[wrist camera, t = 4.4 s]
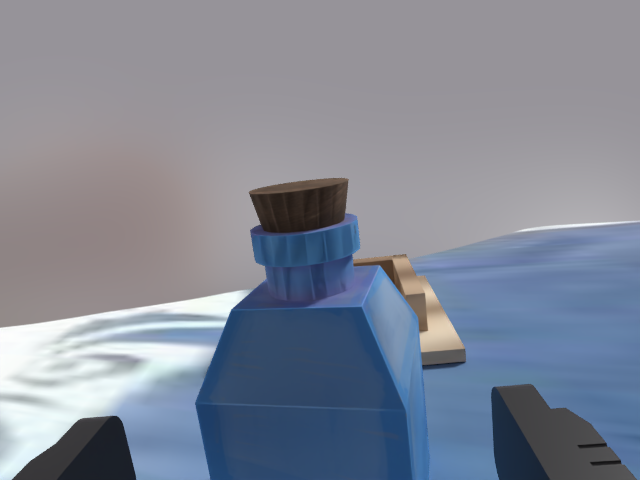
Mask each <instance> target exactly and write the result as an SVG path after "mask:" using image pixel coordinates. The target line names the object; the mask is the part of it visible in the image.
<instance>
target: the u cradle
mask: <svg viewBox="0 0 640 480" xmlns="http://www.w3.org/2000/svg"><path fill="white" fill-rule="evenodd" d="M353 265H354V266H375V265H380V266H381V268H382V269H383V270H384V272H385V273H386V274H387V276H388V277H389V278H390V280H391V281H392V282H393V284H394V285H395V287H396V288H397V289H398V291H399V292H400V293H401V295H402V296H403V297H404V299H405V300H406V302H407V303H408V304H409V306H410V307H411V308H412V310H413V311H414V312H415V314H416V315H417V317H418V323H419V335H420V347H421V359H422V365H430V364H442V363H454V362H466V354H465V347H464V346H463V344H462V342H461V340H460V338H459V337H458V335H457V333H456V331H455V329H454V328H453V326H452V324H451V322H450V320H449V319H448V317H447V315H446V313H445V311H444V310H443V308H442V306H441V304H440V302H439V301H438V299H437V297H436V295H435V294H434V292H433V290H432V288H431V286H430V285H429V283H428V281H427V279H426V277H425V276H416V274H415V272H414V270H413V268H412V266H411V264H410V262H409V260H408V258H407V256H406V254H403V255H393V256H385V257H374V258H365V259H356V260H353Z"/></svg>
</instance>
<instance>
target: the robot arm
mask: <svg viewBox="0 0 640 480" xmlns="http://www.w3.org/2000/svg"><path fill="white" fill-rule="evenodd" d="M491 401H492V421H493V441H494V457H495V464H496V469H497V473H498V477H499V480H637V479H636V478H635V477H634V476H633V474H632V473H631V472H630V471H629V470H628V468H627V467H626V466H625V465H622V464H621V460H620V459H619V458H618V456H617V455H616V454H615V453H614V452H613V450H612V449H611V448H610V447H607V444H606V442H605V441H604V440H603V438H602V437H601V436H600V435H599V434H598V432H597V431H596V430H595V429H594V428H593V426H592V425H591V424H590V423H589V422H587V421H585V420H584V419H582V418H581V417H579V416H577V415H576V414H574V413H573V412H571V411H570V410H568V409H566V408H556V409H550V407H549V406H548V405H547V403H546V402H545V401H544V399H543V398H542V397H541V395H540V394H539V392H538V391H537V390H536V388H535V387H534V386H533V385H531V384H525V385H512V386H500V387H493V388H492V393H491ZM12 480H136V475H135V471H134V467H133V463H132V459H131V454H130V450H129V446H128V442H127V438H126V434H125V430H124V426H123V423H122V421H121V420H120V418H119V417H117V416H106V417H93V418H82V419H80V420H78V421H77V422H76V423H75V424H74V425H73V426H72V427H71V428H70V429H69V430H68V431H67V432H66V433H65V434H64V435H63V437H62V438H61V439H60V440H59V441H58V442H57V443H56V444H55V445H53V446H52V447H50V448H49V449H47V450H46V451H44V452H43V453H41V454H40V455H39V456H37V457H36V458H34V459H33V460H31V461H30V462H29V463H28V464H27V465H26V466H25V467H24V468H23V469H22V470H21V471H20V472H19V473H18V474H17V475H16V476H15V477H14V478H13V479H12Z"/></svg>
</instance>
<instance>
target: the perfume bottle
mask: <svg viewBox="0 0 640 480" xmlns="http://www.w3.org/2000/svg"><path fill="white" fill-rule="evenodd" d="M347 188H348V179H345V178H329V179H317V180H306V181H298V182H291V183H284V184H278V185H272V186H267V187H263V188H258V189H255V190H252V191H250V192H249V194H250V197H251V199H252V202H253V205H254V207H255V210H256V212H257V215H258V218H259V220H260V223H261V225H258V226H256V227H254V228H253V229H251V230H250V232H251V238H252V245H253V251H254V257H255V261H256V263H259V264H261V265H263V266H265V270H266V276H267V279H266V280H265V281H263V282H262V283H261V284H260V285H259V286H258V287H257V288H255V289H254V290H253V291H252V292H251V293H250V294H249V295H247V296H246V297H245V298H244V299H243V300H242V301H241V302H239V303H238V304H237V305H236V306H235V307H234V308H233V309H231V312H230V314H229V317H228V320H227V322H226V325H225V327H224V330H223V332H222V335H221V338H220V340H219V343H218V345H217V348H216V351H215V353H214V356H213V358H212V361H211V363H210V366H209V369H208V371H207V374H206V376H205V379H204V382H203V384H202V387H201V389H200V392H199V395H198V397H197V400H196V402H195V405H196V410H197V414H198V419H199V424H200V429H201V434H202V439H203V444H204V449H205V454H206V459H207V464H208V469H209V474H210V479H211V480H429V459H430V455H429V443H428V431H427V419H426V407H425V395H424V383H423V371H422V359H421V347H420V335H419V323H418V317H417V315H416V314H415V312H414V311H413V310H412V308H411V307H410V306H409V304H408V303H407V302H406V300H405V299H404V297H403V296H402V295H401V293H400V292H399V291H398V289H397V288H396V287H395V285H394V284H393V282H392V281H391V280H390V278H389V277H388V276H387V274H386V273H385V272H384V270H383V269H382V268H381V266H380V265H375V266H354V265H353V257H352V254H353V253H355V252H356V251H357V250H359V249H360V240H359V231H358V221H357V216H355V215H353V214H346V213H345V209H346V199H347Z"/></svg>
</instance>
